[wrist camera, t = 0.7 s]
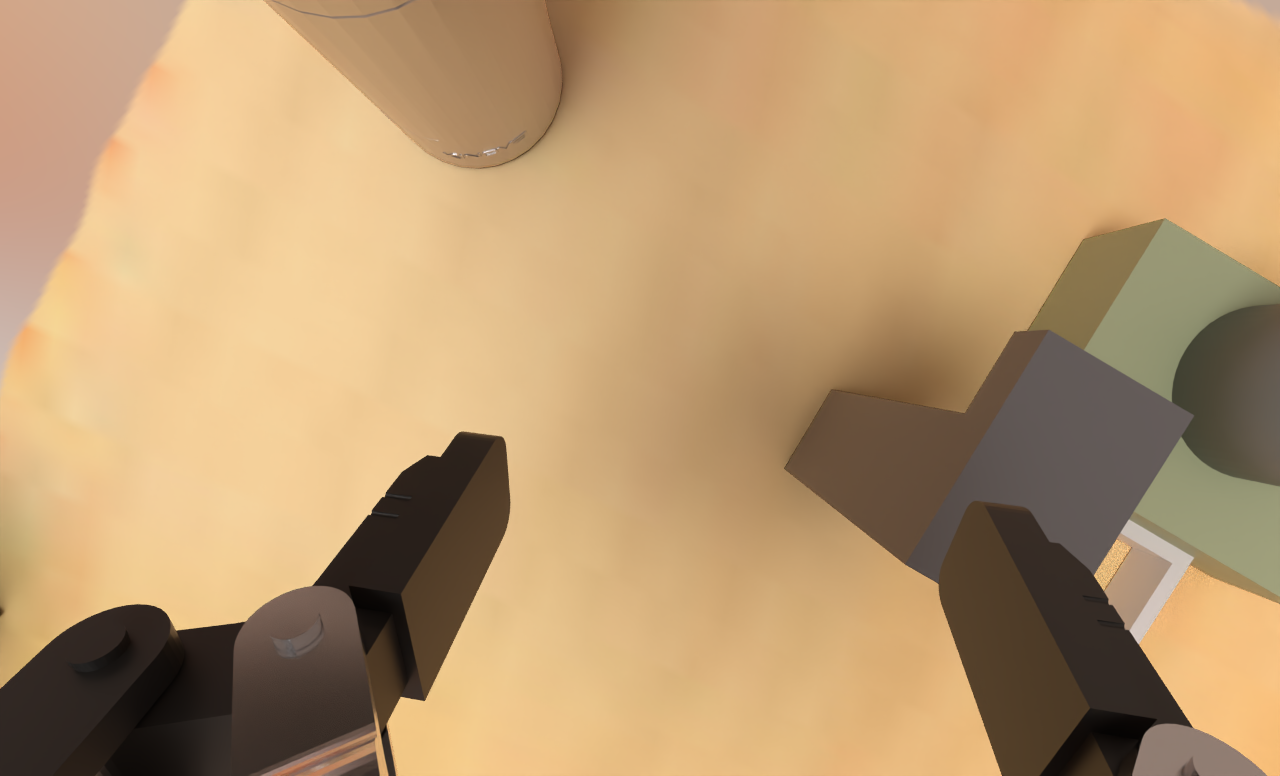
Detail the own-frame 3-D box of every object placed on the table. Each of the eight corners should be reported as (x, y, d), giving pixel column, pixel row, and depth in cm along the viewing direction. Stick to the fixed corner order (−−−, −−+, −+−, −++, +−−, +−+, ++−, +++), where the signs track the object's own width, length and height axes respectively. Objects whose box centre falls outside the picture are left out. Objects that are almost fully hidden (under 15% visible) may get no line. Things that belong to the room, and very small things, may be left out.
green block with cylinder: (1083, 239, 32) (1314, 179, 21) (1334, 389, 32) (1690, 407, 21) (887, 559, 33) (1010, 661, 22) (1133, 701, 33) (1375, 871, 22)
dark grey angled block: (862, 513, 33) (1048, 647, 18) (784, 468, 33) (904, 564, 18) (938, 387, 32) (1194, 415, 17) (859, 341, 32) (1048, 329, 17)
